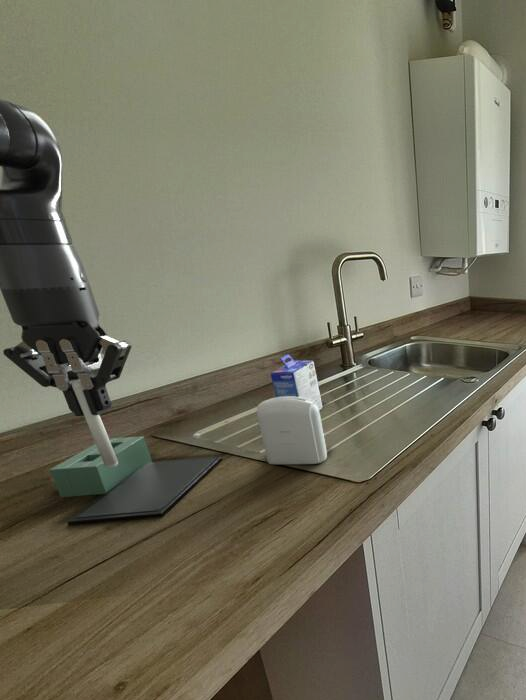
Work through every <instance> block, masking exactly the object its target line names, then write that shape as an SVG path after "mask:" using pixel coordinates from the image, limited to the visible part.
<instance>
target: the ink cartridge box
mask: <svg viewBox="0 0 526 700" xmlns="http://www.w3.org/2000/svg"><path fill="white" fill-rule="evenodd" d="M286 359H288V360H289V361H287V362H286ZM279 360H280V361H281V362H282V364H283V365H282V366H280V367H279V368H278V369H276V370H274V371H272V372H271V373H270V377H271V382H272V386H273V390H274V395H275V398H276V397H285V396H293V397H302V398H307V399H310V400H313V401H315V402H316V403H317V404H318V407H319V411H321V410H322V409H323V402H322V399H321V393H320V392H321V391H320V389H319V382H318V377H317V372H316V367H315V363H314V360H311V359H310V360H309V359H308V360H307V359H305V360H294V359H293V358H292V356H291V355H290V354H289V353H287V354H285V355H284V356H281V357H279Z"/></svg>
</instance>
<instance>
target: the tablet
mask: <svg viewBox="0 0 526 700" xmlns="http://www.w3.org/2000/svg"><path fill="white" fill-rule="evenodd" d="M222 461H223V458H222V456H214V457H213V456H212V457H201V458H186V459H175V460H161V461H159V460H158V461H151V462H149V463H147V464H146V465H144V466H143V467H142V468H140V469H139V470H137V471H136V472H135V473H133V474H132V475H131V476H129V477H128V478H126V479H125V480H124V481H122V482H121V483H120V484H118V485H117V486H115V487H114V488H113V489H111V490H110V491H109V492H107V493H106V494H102V496H100V497H99V498H98V499H96V500H95V501H93V502H92V503H91V504H89V505H88V506H86V507H85V508H83V509H82V510H81V511H79V512H78V513H77V514H75V515H73V517H72V518H70V519H68V520H67V521H66V523H67V525H68V526H79V525H89V524H90V525H91V524H102V523H114V522H122V521H135V520H142V519H143V520H146V519H156V518H163V517H164V516H166V514H168V513H169V511H171V510H172V509H173V508H174V507H175V506H176V505H177V504H178V503H179V502H180V501H181V500H182V499H184V497H185V496H186V495H188V493H189V492H190V491H192V490H193V488H195V487H196V486H197V485H198V484H199V483H200V482H201V481H202V480H203V479H204V478H205V477H206V476H207V475H208V474H209V473H211V472H212V470H214V468H216V467H217V466H218V465H219V464H220V463H221V462H222Z"/></svg>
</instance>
